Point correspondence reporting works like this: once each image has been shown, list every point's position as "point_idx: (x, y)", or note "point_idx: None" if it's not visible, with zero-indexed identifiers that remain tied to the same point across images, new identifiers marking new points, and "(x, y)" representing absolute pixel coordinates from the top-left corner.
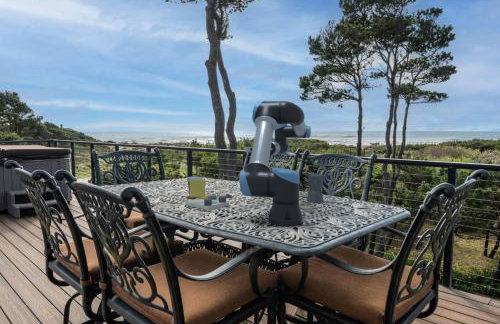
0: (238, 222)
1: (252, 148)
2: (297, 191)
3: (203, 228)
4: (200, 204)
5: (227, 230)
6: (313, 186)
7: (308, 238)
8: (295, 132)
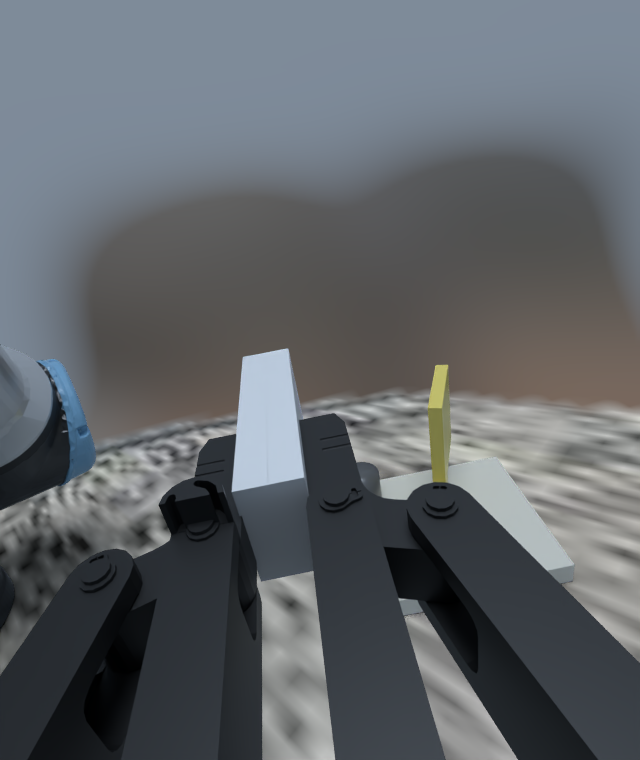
0: (120, 502)
1: (201, 452)
2: None
3: (176, 425)
4: (394, 479)
5: (108, 453)
6: None
7: None
8: None
